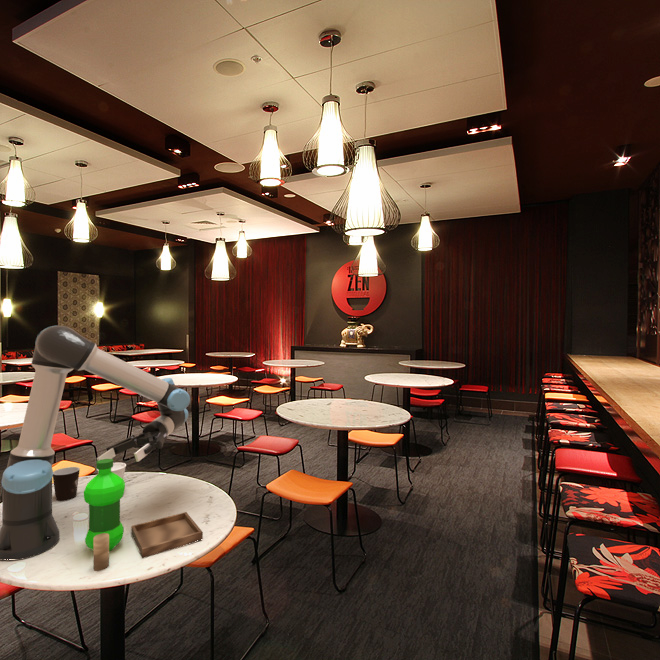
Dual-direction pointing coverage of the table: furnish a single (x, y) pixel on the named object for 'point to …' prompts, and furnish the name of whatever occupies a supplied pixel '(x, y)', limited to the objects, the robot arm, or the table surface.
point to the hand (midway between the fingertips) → (117, 460)
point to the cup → (118, 469)
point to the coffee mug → (66, 483)
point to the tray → (165, 534)
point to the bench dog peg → (101, 551)
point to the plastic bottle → (104, 504)
